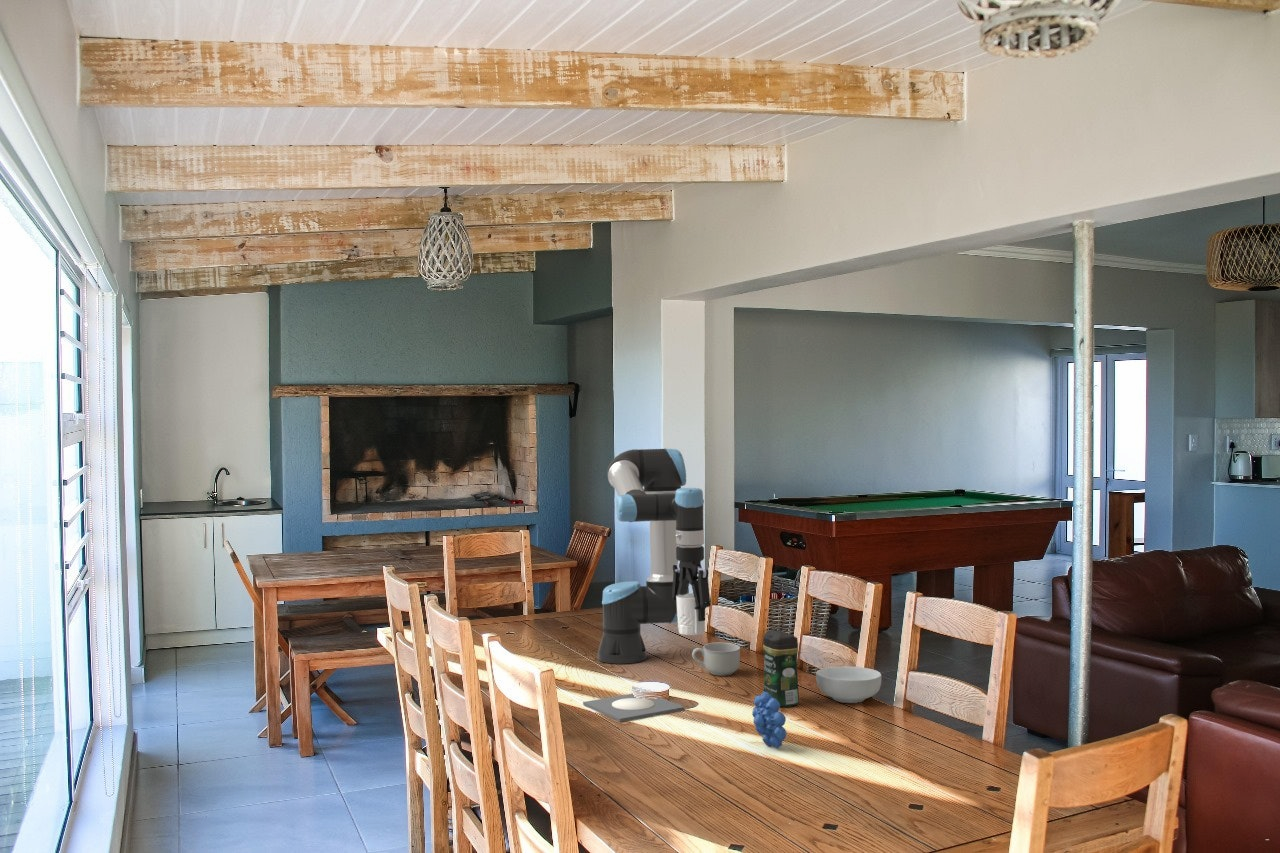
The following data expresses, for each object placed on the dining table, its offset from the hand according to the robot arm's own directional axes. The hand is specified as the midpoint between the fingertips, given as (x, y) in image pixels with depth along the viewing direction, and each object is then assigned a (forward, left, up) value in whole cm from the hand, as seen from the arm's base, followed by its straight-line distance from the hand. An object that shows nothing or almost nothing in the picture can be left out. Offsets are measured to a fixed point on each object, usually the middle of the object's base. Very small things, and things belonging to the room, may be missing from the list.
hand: (691, 630), depth 291 cm
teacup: (-15, +19, -17) cm, 30 cm away
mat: (+3, -20, -17) cm, 27 cm away
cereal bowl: (+28, +31, -17) cm, 45 cm away
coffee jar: (+21, +14, -17) cm, 30 cm away
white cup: (0, 0, -1) cm, 1 cm away
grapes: (+48, -12, -17) cm, 52 cm away
